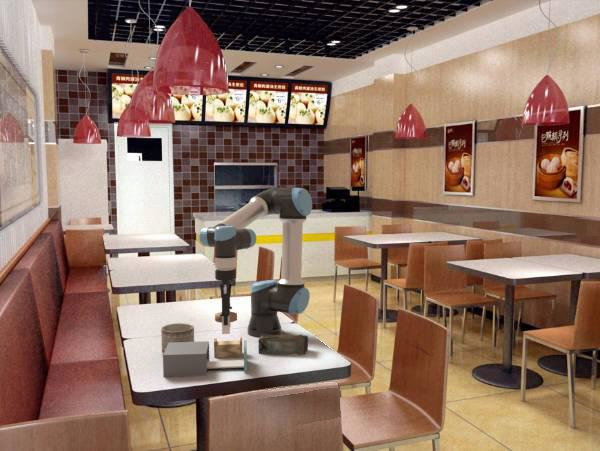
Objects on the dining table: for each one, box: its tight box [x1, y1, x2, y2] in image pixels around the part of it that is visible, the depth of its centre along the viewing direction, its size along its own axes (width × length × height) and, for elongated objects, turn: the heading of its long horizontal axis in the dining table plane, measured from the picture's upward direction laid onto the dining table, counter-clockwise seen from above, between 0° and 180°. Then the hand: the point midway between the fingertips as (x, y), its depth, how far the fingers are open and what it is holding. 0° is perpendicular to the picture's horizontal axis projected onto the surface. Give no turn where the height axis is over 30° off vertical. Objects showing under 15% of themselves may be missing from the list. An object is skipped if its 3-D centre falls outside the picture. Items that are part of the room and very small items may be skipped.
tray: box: [207, 339, 248, 373], centre depth 208 cm, size 15×14×7 cm
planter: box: [160, 322, 195, 354], centre depth 225 cm, size 13×13×10 cm
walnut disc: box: [214, 311, 238, 324], centre depth 206 cm, size 8×8×2 cm
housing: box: [162, 340, 210, 378], centre depth 207 cm, size 15×15×8 cm
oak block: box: [213, 337, 243, 358], centre depth 222 cm, size 11×5×6 cm, turn 95°
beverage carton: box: [257, 334, 309, 356], centre depth 226 cm, size 8×19×7 cm, turn 82°
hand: (226, 330), depth 207 cm, fingers closed on walnut disc, 8 cm apart
